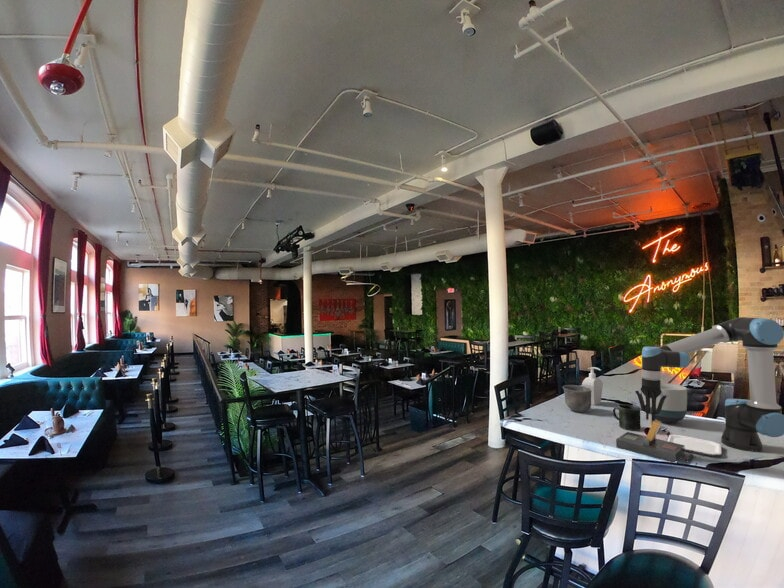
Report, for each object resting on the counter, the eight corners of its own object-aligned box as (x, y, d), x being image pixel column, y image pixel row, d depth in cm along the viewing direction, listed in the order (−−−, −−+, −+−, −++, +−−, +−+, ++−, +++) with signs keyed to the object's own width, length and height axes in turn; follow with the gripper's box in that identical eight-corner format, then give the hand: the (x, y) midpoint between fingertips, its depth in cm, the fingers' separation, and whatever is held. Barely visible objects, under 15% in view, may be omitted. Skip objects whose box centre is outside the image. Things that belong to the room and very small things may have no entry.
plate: (721, 447, 184) (721, 442, 184) (721, 460, 168) (721, 455, 168) (669, 437, 197) (669, 433, 197) (665, 448, 182) (665, 444, 182)
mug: (635, 432, 203) (635, 411, 203) (608, 425, 215) (608, 404, 216) (645, 429, 209) (644, 407, 209) (618, 422, 221) (617, 402, 222)
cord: (693, 456, 172) (693, 454, 172) (688, 462, 166) (688, 459, 166) (690, 455, 173) (690, 453, 173) (685, 461, 166) (685, 459, 166)
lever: (654, 440, 181) (662, 421, 179) (648, 444, 176) (657, 425, 173) (649, 437, 183) (657, 419, 180) (643, 442, 177) (652, 422, 175)
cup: (557, 410, 246) (557, 387, 246) (568, 405, 258) (568, 383, 258) (586, 416, 233) (585, 392, 233) (596, 410, 245) (595, 388, 245)
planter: (641, 415, 235) (640, 381, 235) (679, 418, 228) (678, 383, 228) (651, 425, 216) (651, 388, 216) (694, 429, 209) (693, 391, 209)
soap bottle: (596, 407, 253) (596, 369, 254) (582, 403, 261) (581, 367, 262) (605, 404, 260) (605, 367, 260) (591, 401, 268) (590, 365, 269)
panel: (684, 453, 175) (684, 439, 175) (675, 463, 165) (675, 448, 165) (627, 439, 193) (627, 426, 194) (616, 447, 183) (616, 433, 183)
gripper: (669, 379, 177) (668, 429, 177) (638, 375, 186) (638, 421, 186) (664, 382, 172) (664, 432, 172) (633, 377, 182) (633, 425, 181)
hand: (650, 427), depth 179 cm, fingers closed
